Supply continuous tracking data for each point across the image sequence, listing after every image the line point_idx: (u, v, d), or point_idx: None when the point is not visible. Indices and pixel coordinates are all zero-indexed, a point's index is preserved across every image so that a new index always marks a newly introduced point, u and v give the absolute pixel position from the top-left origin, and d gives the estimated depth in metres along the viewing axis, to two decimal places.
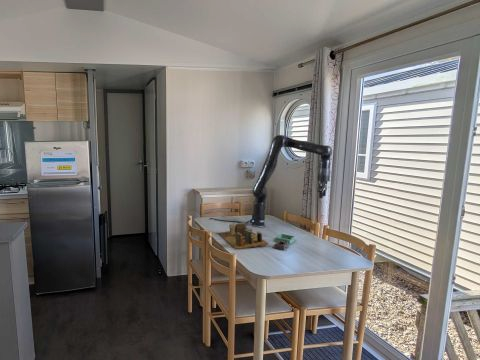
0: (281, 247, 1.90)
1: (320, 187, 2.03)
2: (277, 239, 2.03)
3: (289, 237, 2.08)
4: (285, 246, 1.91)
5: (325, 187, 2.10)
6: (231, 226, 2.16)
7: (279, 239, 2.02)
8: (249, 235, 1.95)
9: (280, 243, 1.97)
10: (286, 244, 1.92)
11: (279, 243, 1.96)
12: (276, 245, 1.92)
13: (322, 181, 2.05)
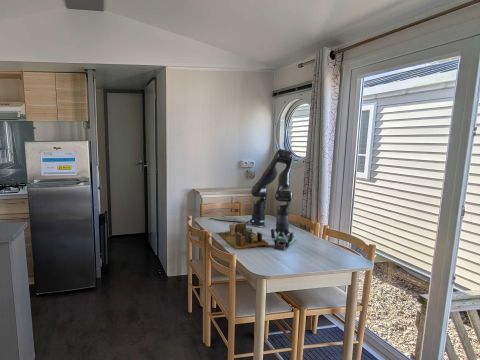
0: (281, 247, 1.90)
1: None
2: None
3: (289, 237, 2.08)
4: (285, 246, 1.91)
5: (285, 237, 1.90)
6: (231, 226, 2.16)
7: (279, 239, 2.02)
8: (249, 235, 1.95)
9: (280, 243, 1.97)
10: None
11: (279, 243, 1.96)
12: (276, 245, 1.92)
13: None
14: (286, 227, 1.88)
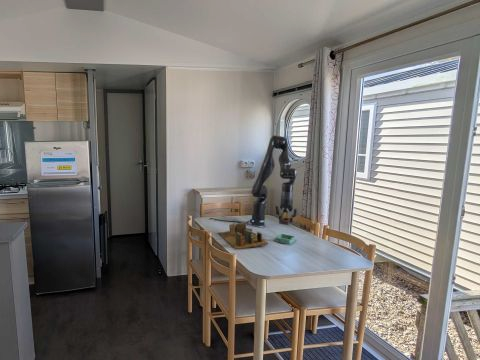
0: (285, 222, 1.98)
1: None
2: (277, 239, 2.03)
3: (289, 237, 2.08)
4: (289, 221, 1.99)
5: (289, 213, 1.99)
6: (231, 226, 2.16)
7: (279, 239, 2.02)
8: (249, 235, 1.95)
9: (284, 219, 2.05)
10: None
11: (283, 219, 2.04)
12: (280, 221, 2.00)
13: None
14: (290, 203, 1.97)
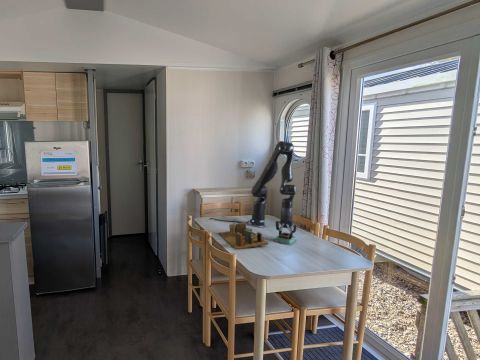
0: (285, 238, 2.01)
1: None
2: (277, 239, 2.03)
3: None
4: (289, 237, 2.02)
5: None
6: (231, 226, 2.16)
7: (279, 239, 2.02)
8: (249, 235, 1.95)
9: (284, 234, 2.08)
10: None
11: (283, 234, 2.07)
12: (280, 236, 2.03)
13: None
14: (290, 219, 2.00)
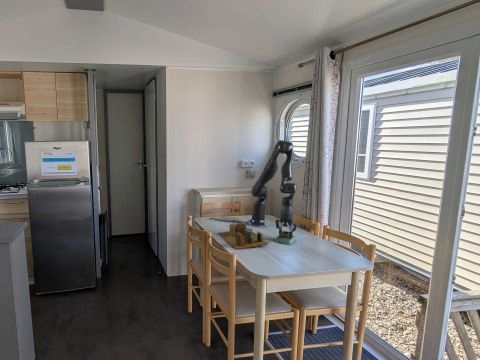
0: (285, 236, 2.01)
1: None
2: (277, 239, 2.03)
3: None
4: (289, 235, 2.02)
5: (289, 227, 2.02)
6: (231, 226, 2.16)
7: (279, 239, 2.02)
8: (249, 235, 1.95)
9: (284, 233, 2.08)
10: None
11: (283, 233, 2.07)
12: (280, 234, 2.03)
13: None
14: (290, 217, 2.00)
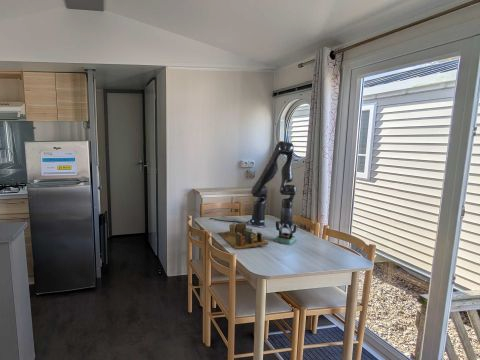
0: (285, 238, 2.01)
1: None
2: (277, 239, 2.03)
3: None
4: (289, 237, 2.02)
5: (289, 228, 2.02)
6: (231, 226, 2.16)
7: (279, 239, 2.02)
8: (249, 235, 1.95)
9: (284, 234, 2.08)
10: None
11: (283, 234, 2.07)
12: (280, 236, 2.03)
13: None
14: (290, 219, 2.00)
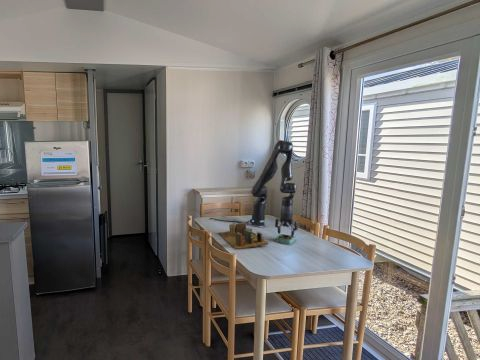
0: None
1: None
2: (277, 239, 2.03)
3: None
4: (289, 239, 2.02)
5: None
6: (231, 226, 2.16)
7: (279, 239, 2.02)
8: (249, 235, 1.95)
9: (284, 236, 2.08)
10: (290, 237, 2.04)
11: (283, 236, 2.07)
12: None
13: None
14: (290, 217, 2.00)
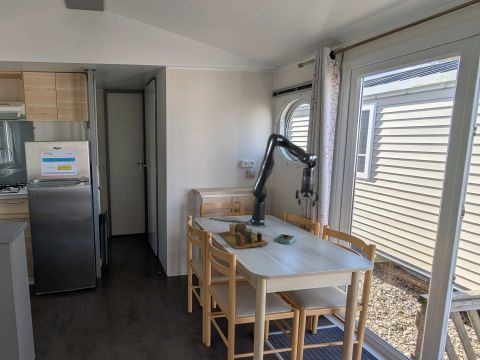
0: None
1: None
2: (277, 239, 2.03)
3: None
4: (289, 239, 2.02)
5: (311, 197, 2.02)
6: (231, 226, 2.16)
7: (279, 239, 2.02)
8: (249, 235, 1.95)
9: (284, 236, 2.08)
10: (290, 237, 2.04)
11: (283, 236, 2.07)
12: None
13: None
14: (311, 188, 2.00)
